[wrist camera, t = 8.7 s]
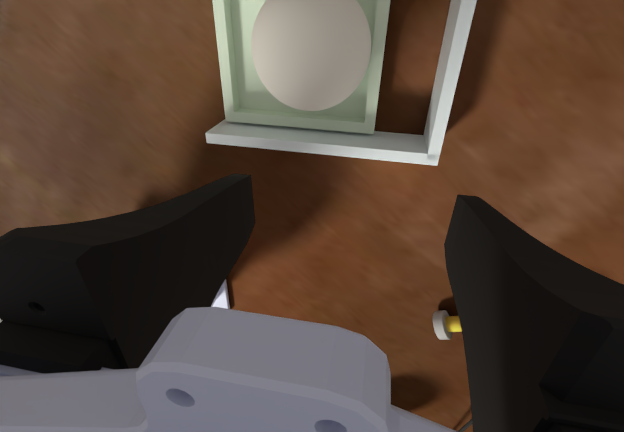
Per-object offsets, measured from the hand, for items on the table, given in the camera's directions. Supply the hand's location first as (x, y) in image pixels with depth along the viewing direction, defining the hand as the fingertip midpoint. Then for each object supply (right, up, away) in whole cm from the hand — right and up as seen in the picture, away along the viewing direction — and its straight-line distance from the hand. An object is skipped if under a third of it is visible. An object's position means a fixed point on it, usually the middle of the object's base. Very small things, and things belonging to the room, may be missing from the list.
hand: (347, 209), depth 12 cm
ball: (-2, +9, +6) cm, 11 cm away
